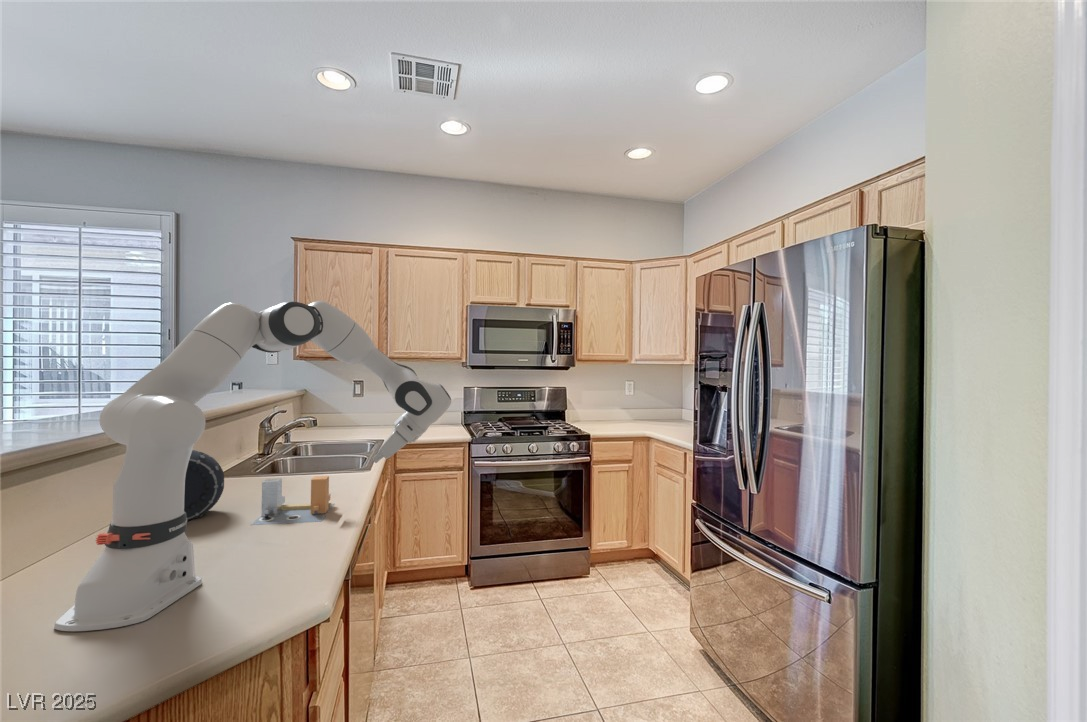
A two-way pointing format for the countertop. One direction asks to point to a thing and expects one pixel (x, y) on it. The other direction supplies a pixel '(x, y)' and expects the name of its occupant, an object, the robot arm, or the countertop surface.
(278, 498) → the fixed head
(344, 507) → the countertop surface
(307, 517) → the board
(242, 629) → the countertop surface
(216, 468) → the dark rounded piece
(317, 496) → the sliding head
